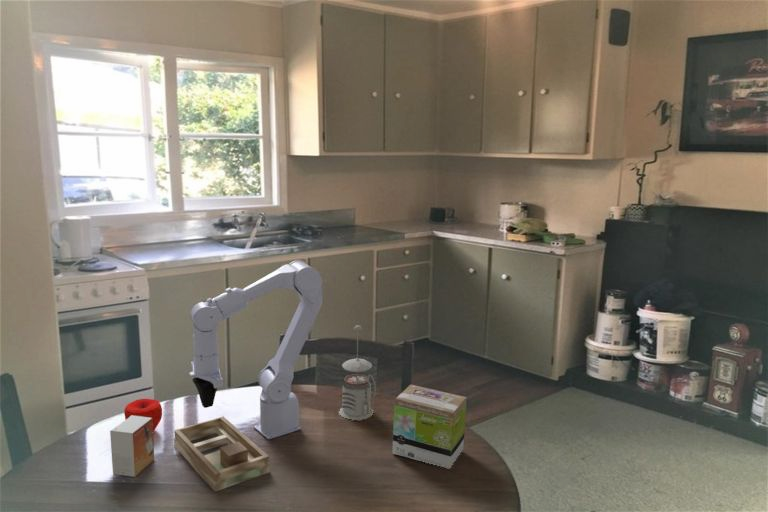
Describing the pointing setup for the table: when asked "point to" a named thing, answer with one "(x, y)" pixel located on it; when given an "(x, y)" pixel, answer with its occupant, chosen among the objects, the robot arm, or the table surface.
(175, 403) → the table surface
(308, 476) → the table surface
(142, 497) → the table surface
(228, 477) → the box
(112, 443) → the small box
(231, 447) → the walnut block
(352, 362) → the french press
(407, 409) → the tea box
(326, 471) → the table surface
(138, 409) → the apple
